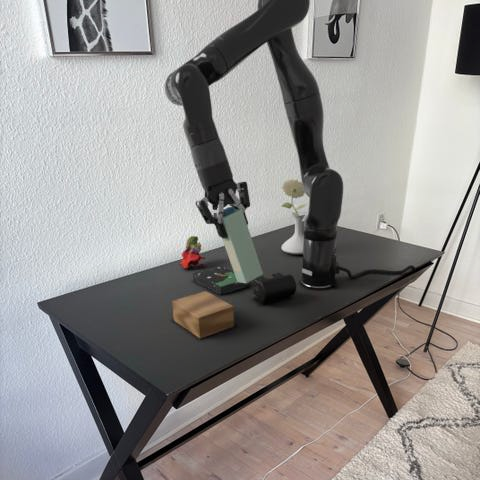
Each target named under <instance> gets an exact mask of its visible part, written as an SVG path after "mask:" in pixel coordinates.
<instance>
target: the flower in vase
mask: <svg viewBox="0 0 480 480" xmlns="http://www.w3.org/2000/svg"><path fill="white" fill-rule="evenodd" d="M281 189H282V190H283V192H284V194H285V195H286V196H287V197H291V201H290V202H288V201H286V202H284V203H283V204H282V205H281V208H286V209H291V208H293V210H294V212H291V216H292V218H293V220H294V233H293V235H292V236H290V238H289V239H287V240H286V241H284V242H283V244H282V245H281V250H282V251H283V252H284V253H285V254H289V255H296V256H300V255H302V256H303V241H304V234H303V232H302V227H303V222H304V219H305V216H306V215H307V213H306V212H304V211H298V210H301V209H303V208H304V207H305V206H306V205H307V203H304V204H301V205H299V206H298V207H297V208H296V207H295V206H294V203H293V199H297V198H301V197H304V196H305V195H306V193H305V192H304V189H303V186H302V181H299V180H298V179H293V178H289V179H287V180H285V181H284V182H283V184H282V187H281Z"/></svg>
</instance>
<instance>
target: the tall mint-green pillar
mask: <svg viewBox="0 0 480 480" xmlns="http://www.w3.org/2000/svg"><path fill="white" fill-rule="evenodd" d="M222 223H223V224H224V227H225V229H226V232H227V235H228V237H227V238H225V239H224V238H221V239H222V242H223V246H224V248H225V251H226V253H227V254H226V255H227V256H228V259H229V262H230V265H231V268H232V271H233V272H234V273H235V276H236V279H237V282H241V283H248V284H249V283H250V282H253V279H255V278H257V277H261V276H262V275H263V274H264V272H263V268H262V266H261V263H260V260H259V257H258V254H257V250H256V248H255V245H254V241H253V239H252V235H251V233H250V229H249V225H248V226H247V223H246V220H245V217H244V214H243V211H242V210H235V209H234V207H231V206H227V207H225V208H224V211H223V214H222Z"/></svg>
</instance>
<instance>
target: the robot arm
mask: <svg viewBox="0 0 480 480" xmlns="http://www.w3.org/2000/svg"><path fill="white" fill-rule="evenodd" d="M310 5H311V0H258V1H257V10H255V12H253V13H252V14H251V15H249V16H248V17H246V18H244V19H243V20H241V21H239V22H237V23H236V24H234V25H233V26H231V27H230V28H228V29H226V30H225V31H223V32H222V33H221V34H219V35H218V36H216V37H215V39H213V40H211V41H210V42H209V43H208V44H207V45H205V47H203V48H202V49H200V51H199V52H198V53H197V54H196V55H195V56H193V58H191V59H189V60H188V61H186V62H185V63H183V64H182V65H181V66H179V67H178V68H176V69H174V70H173V71H172V72H171V73H170V74H169V75H168V76H167V77H166V80H165V82H164V94H165V96H166V98H167V100H168V101H169V102H170V103H171V104H173V105H175V106H178V107H182V108H183V113H184V120H183V122H182V129H183V134H184V135H185V138H186V141H187V144H188V146H189V150H190V155H191V158H192V162H193V165H194V168H195V171H196V173H197V176H198V180H199V182H200V185H201V187H202V189H203V191H204V196H203V197H202V198H201V199H199V200H196V201H195V203H194V204H195V206H196V208H197V209H198V211H199V213H200V215H201V217H202V218H203V221H204V222H205V224H207V225H214V226H215V229H216V232H217V235H218V237H220V239H222V238H224V239H225V238H227V237H228V235H227V232H226V229H225V227H224V224H223V223H222V214H223V211H224V209H225V208H227V207H228V206H229V207H234V209H235V210H242V211H243V214H244V217H245V220H246V223H247V226H248V227H249V221H248V217H247V215H246V210H247V209H248V208H250V207H251V200H250V194H249V193H250V192H249V187H248V183H247V181H239V182H235V180H234V174H233V172H232V168H231V165H230V162H229V159H228V156H227V153H226V150H225V146H224V144H223V142H222V141H221V137H220V135H219V132H218V129H217V126H216V122H215V120H214V116H213V107H212V98H211V92H210V91H211V90H210V86H211V85H213V84H215V83H217V82H219V81H220V80H222V79H224V78H225V77H226V76H227V75H229V74H230V73H231V72H232V71H233V70H235V69H236V68H237V67H238V66H239V65H241V64H242V63H243V62H244V61H245V60H247V59H248V58H249V57H250V56H251V55H252V54H253V53H255V52H256V51H257V50H259V48H261V47H262V46H264V45H266V44H267V48H268V50H269V53H270V56H271V59H272V63H273V67H274V70H275V74H276V78H277V82H278V86H279V89H280V94H281V97H282V102H283V108H284V111H285V114H286V119H287V122H288V125H289V126H288V127H289V129H290V133H291V136H292V139H293V143H294V147H295V149H296V153H297V159H298V164H299V170H300V178H301V179H300V180H301V182H302V186H303V189H304V192H305V195H306V196H307V197H308V199H309V200H308V201H309V202H308V211H307V214H306V215H305V216H304V218H303V236H304V241H303V254H302V268H301V285H302V286H303V287H305V288H309V289H313V290H326V289H329V288H335V281H336V275H339V274H340V271H342V272H345V273H346V274H347V276H348V278H350V279H357V278H359V277H361V276H363V275H367V274H369V273H370V274H371V273H377V274H378V273H380V274H388V275H401V274H404V273H407V271H409V270H412V271H416V270H417V268H416V267H415V266H414V265H407V266H406V267H405V268H404V269H401V270H386V269H376V268H372V269H371V268H370V269H365V270H363V271H361V272H359V273H357V274H355V275H353V274H352V272H351V270H350V269H349V268H346V267H343V266H340V264H339V261H337V253H336V249H337V239H338V238H337V237H338V225H339V220H340V218H341V214H342V207H343V197H344V180H343V177H342V176H341V174H340V173H339V172H338V171H336V170H335V169H333V168H330V165H329V162H328V158H327V155H326V151H325V147H324V125H325V124H324V122H325V119H324V118H325V117H324V115H325V114H324V106H323V101H322V96H321V95H322V94H321V91H320V88H319V84H318V81H317V80H316V77H315V76H314V74H313V72H312V71H311V70H310V68H309V67H308V66H307V64H306V63H305V62H304V59H302V57H301V55H300V53H299V51H298V48H297V46H296V42H295V38H294V33H293V28H295V27H297V26H298V25H300V24H301V23H302V22H303V21H304V20H305V19H306V17H307V15H308V13H309V10H310ZM237 192H238V196H237V195H236V194H237ZM209 203H210V204H211V210H210V208H209Z"/></svg>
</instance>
